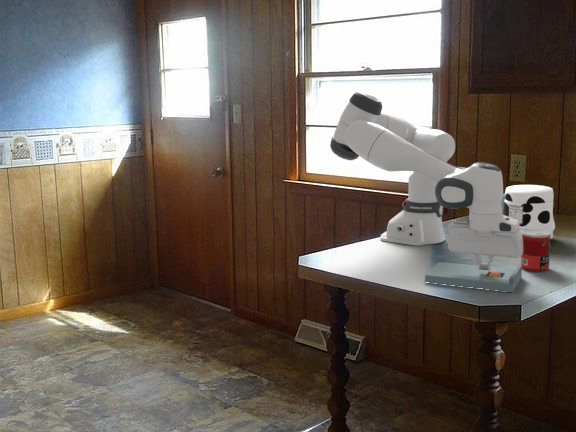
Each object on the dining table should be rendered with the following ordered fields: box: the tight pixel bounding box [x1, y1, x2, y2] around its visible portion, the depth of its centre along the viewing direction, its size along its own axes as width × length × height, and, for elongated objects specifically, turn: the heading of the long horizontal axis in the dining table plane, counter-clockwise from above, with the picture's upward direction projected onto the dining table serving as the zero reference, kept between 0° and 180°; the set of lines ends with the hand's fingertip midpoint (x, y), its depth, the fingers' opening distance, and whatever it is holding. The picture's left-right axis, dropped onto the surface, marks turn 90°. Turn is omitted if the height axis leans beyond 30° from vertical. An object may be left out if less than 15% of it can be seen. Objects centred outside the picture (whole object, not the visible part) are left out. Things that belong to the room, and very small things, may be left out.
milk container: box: [503, 184, 556, 241], centre depth 233 cm, size 17×17×18 cm
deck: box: [424, 261, 523, 293], centre depth 195 cm, size 24×14×4 cm, turn 63°
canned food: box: [520, 230, 551, 273], centre depth 203 cm, size 8×8×11 cm
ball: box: [489, 271, 502, 278], centre depth 192 cm, size 4×4×4 cm
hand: (484, 269), depth 193 cm, fingers closed
